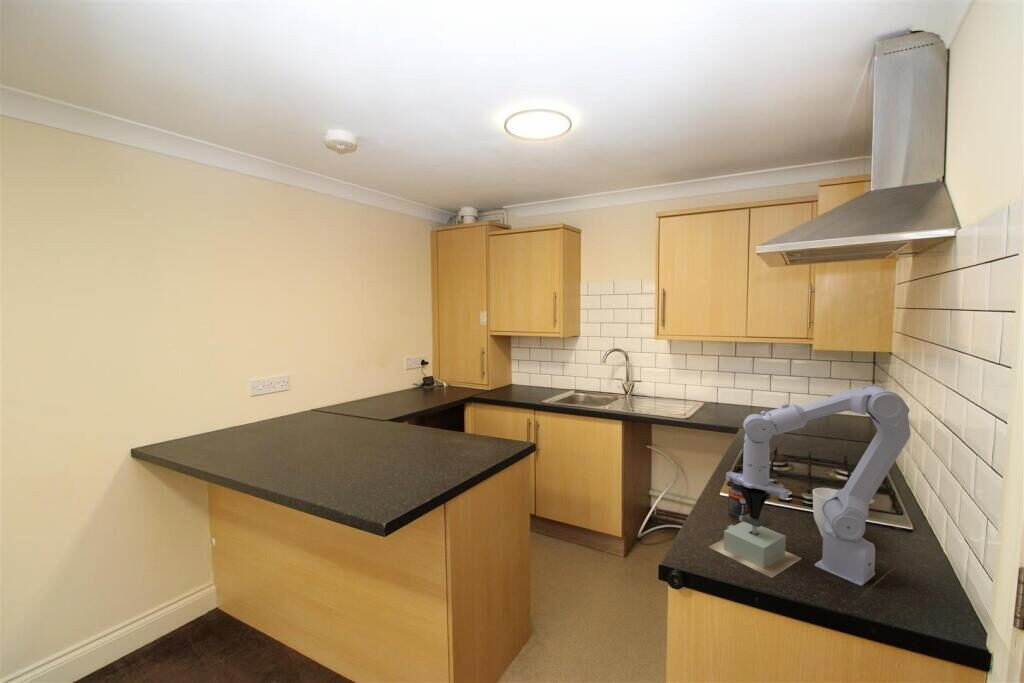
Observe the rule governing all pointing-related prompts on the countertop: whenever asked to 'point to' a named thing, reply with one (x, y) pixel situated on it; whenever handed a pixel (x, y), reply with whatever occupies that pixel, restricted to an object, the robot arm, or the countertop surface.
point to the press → (754, 544)
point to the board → (769, 570)
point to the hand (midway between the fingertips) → (754, 516)
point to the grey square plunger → (754, 522)
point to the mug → (821, 505)
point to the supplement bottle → (736, 503)
